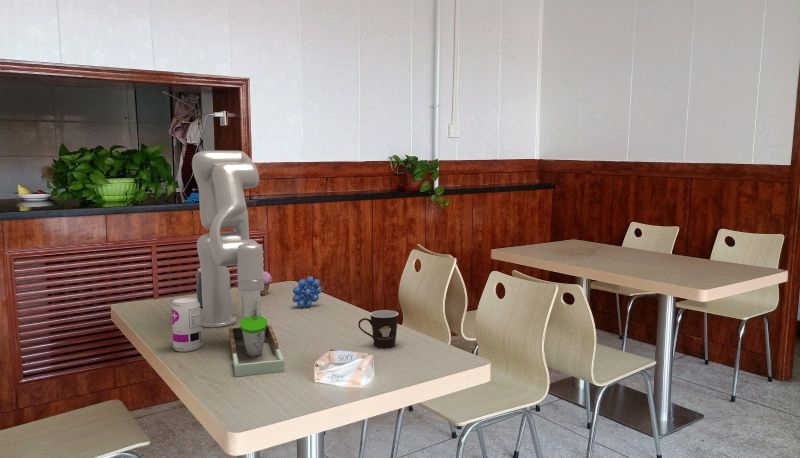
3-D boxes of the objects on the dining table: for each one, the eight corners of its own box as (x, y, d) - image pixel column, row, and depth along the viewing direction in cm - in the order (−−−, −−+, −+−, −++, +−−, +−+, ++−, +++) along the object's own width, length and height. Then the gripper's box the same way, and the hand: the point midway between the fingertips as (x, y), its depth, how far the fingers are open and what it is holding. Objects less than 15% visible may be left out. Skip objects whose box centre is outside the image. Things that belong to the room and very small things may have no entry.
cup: (254, 363, 180) (253, 319, 173) (234, 353, 183) (233, 309, 177) (273, 350, 186) (273, 308, 179) (254, 340, 189) (253, 298, 183)
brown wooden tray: (229, 340, 198) (228, 328, 198) (271, 336, 202) (270, 324, 201) (232, 360, 179) (232, 347, 179) (278, 356, 183) (278, 342, 183)
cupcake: (247, 296, 258) (246, 272, 257) (255, 291, 267) (254, 268, 266) (267, 297, 257) (267, 273, 256) (275, 292, 265) (274, 269, 264)
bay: (233, 363, 176) (232, 353, 176) (279, 359, 180) (279, 349, 180) (235, 376, 166) (234, 365, 166) (284, 371, 170) (284, 360, 170)
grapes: (318, 303, 246) (318, 273, 245) (324, 307, 240) (323, 276, 239) (289, 306, 241) (289, 275, 240) (294, 310, 235) (293, 279, 234)
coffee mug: (402, 342, 195) (402, 311, 194) (393, 351, 187) (392, 318, 186) (367, 339, 199) (367, 308, 198) (357, 347, 191) (356, 315, 190)
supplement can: (175, 354, 185) (173, 304, 183) (171, 346, 192) (169, 298, 190) (203, 350, 189) (201, 301, 187) (199, 342, 196) (196, 295, 194)
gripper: (236, 280, 193) (238, 338, 195) (239, 290, 179) (242, 353, 181) (261, 279, 195) (263, 336, 197) (266, 288, 181) (268, 350, 183)
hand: (253, 344), depth 189 cm, fingers closed
